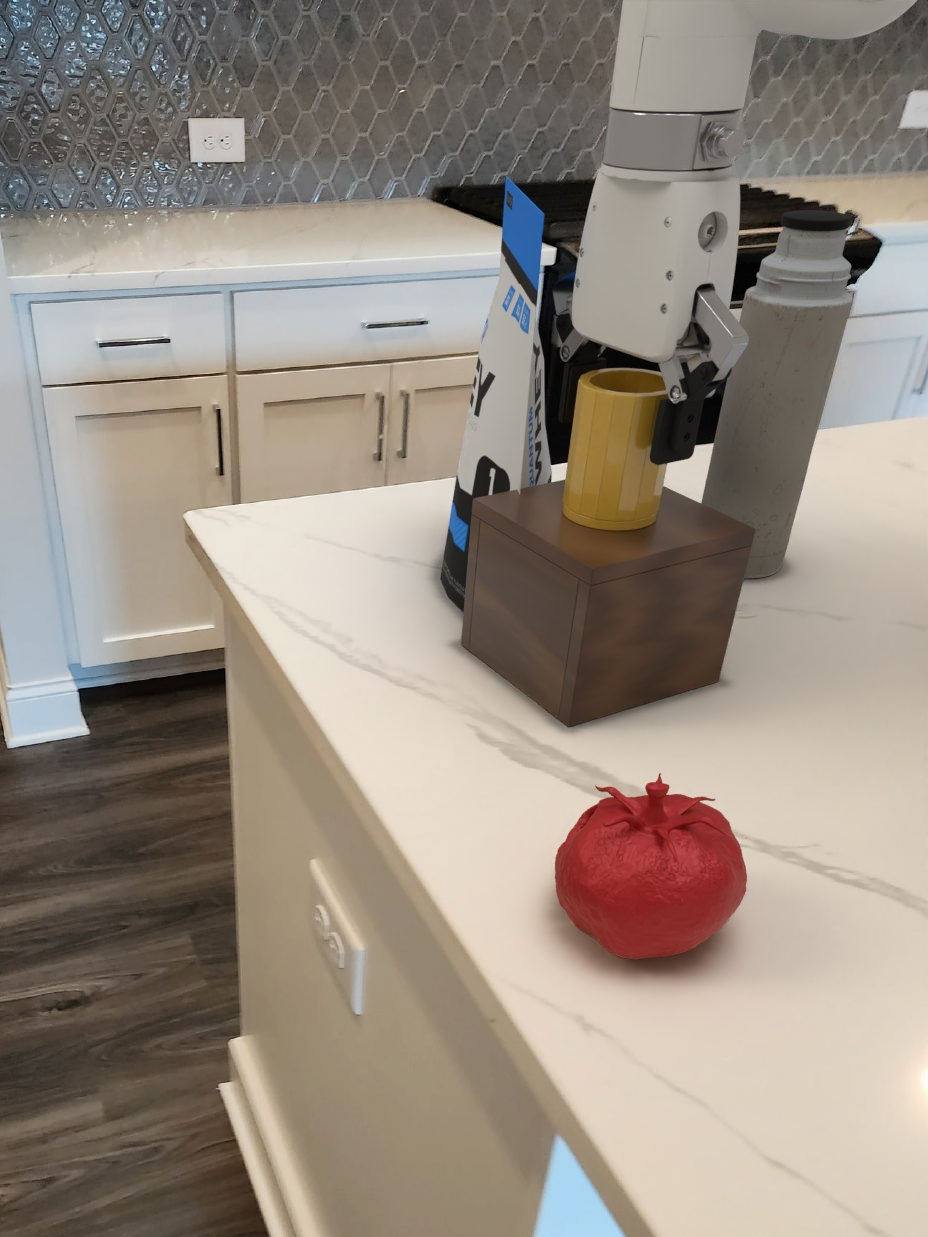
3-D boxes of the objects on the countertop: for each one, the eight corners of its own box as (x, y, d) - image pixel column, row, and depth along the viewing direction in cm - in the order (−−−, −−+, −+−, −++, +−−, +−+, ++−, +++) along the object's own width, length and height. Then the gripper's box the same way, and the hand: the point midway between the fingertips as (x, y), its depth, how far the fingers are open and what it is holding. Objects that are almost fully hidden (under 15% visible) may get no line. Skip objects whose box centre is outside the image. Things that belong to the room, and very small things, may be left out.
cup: (615, 490, 82) (636, 362, 76) (677, 520, 77) (703, 386, 72) (543, 505, 79) (559, 375, 74) (601, 537, 75) (623, 401, 69)
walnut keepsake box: (600, 608, 93) (623, 466, 86) (719, 681, 83) (756, 528, 76) (460, 644, 88) (472, 498, 81) (568, 727, 78) (593, 568, 71)
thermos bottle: (747, 538, 104) (829, 201, 87) (800, 572, 98) (898, 217, 81) (673, 548, 102) (741, 207, 86) (722, 583, 96) (806, 223, 79)
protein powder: (531, 530, 107) (564, 174, 90) (567, 640, 88) (618, 212, 70) (433, 531, 108) (447, 177, 91) (447, 641, 88) (469, 216, 71)
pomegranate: (767, 954, 60) (813, 816, 54) (606, 1000, 57) (637, 860, 51) (661, 847, 67) (692, 716, 61) (515, 884, 64) (533, 751, 59)
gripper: (831, 156, 60) (757, 469, 70) (623, 129, 72) (586, 398, 83) (726, 165, 57) (665, 489, 68) (529, 136, 70) (503, 413, 80)
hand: (622, 439), depth 75 cm, fingers open, 9 cm apart
